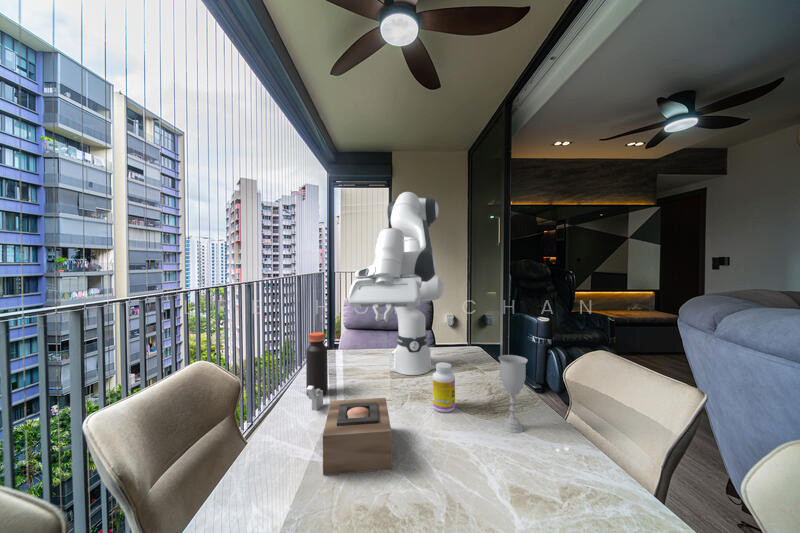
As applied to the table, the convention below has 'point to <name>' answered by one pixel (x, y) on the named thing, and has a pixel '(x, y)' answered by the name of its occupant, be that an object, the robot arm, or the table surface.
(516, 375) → the chalice
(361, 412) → the peg
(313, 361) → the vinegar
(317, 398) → the lighter
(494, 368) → the table surface
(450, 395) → the supplement bottle
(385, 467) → the block
